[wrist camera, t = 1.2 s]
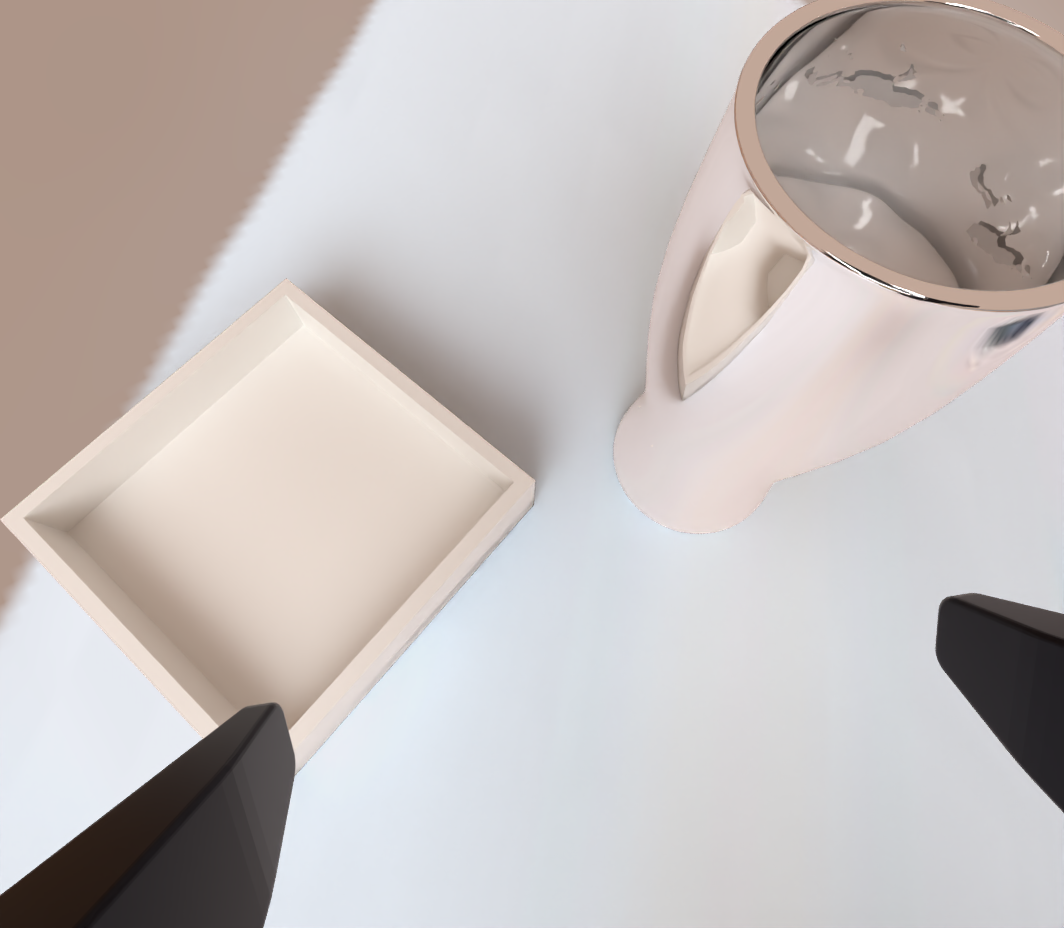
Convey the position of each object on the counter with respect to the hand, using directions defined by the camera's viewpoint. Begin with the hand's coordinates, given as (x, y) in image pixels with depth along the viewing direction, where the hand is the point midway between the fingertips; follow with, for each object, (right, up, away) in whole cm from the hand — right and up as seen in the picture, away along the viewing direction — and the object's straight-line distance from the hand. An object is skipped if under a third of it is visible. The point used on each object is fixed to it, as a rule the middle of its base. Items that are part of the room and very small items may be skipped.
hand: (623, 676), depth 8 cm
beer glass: (+5, +3, +16) cm, 17 cm away
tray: (-10, +1, +14) cm, 17 cm away
